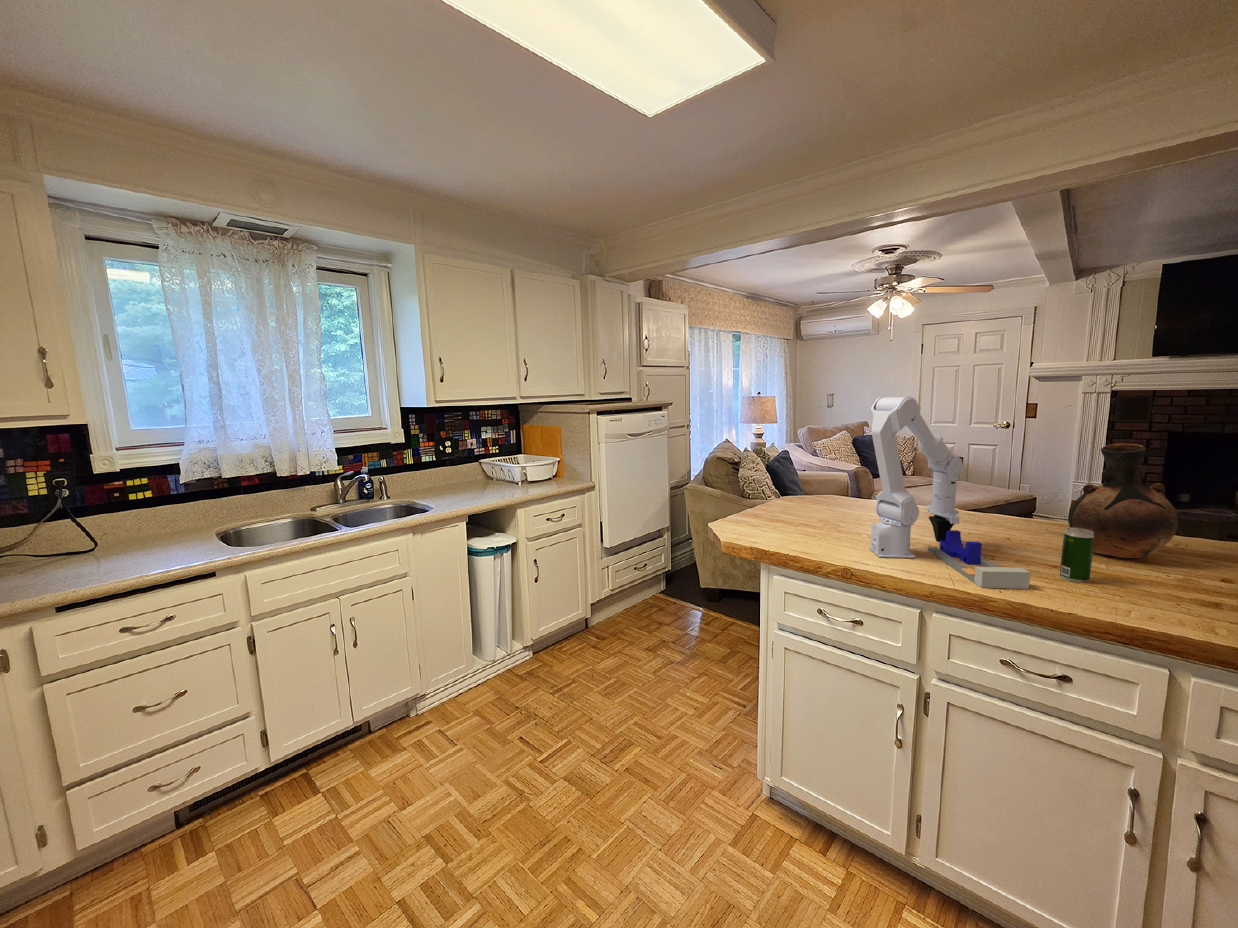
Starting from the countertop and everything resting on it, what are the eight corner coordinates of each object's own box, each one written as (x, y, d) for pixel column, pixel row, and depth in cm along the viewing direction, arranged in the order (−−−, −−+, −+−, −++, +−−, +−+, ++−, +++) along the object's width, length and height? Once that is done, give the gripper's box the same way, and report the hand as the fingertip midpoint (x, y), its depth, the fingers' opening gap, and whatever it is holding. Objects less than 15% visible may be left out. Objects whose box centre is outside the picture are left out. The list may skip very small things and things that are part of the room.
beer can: (1078, 584, 117) (1083, 534, 115) (1053, 576, 122) (1058, 528, 121) (1095, 581, 118) (1101, 532, 117) (1070, 573, 124) (1075, 526, 122)
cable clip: (939, 550, 144) (940, 530, 143) (956, 550, 143) (957, 530, 142) (961, 565, 132) (962, 543, 131) (980, 565, 132) (981, 543, 131)
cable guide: (981, 587, 117) (982, 571, 116) (927, 550, 143) (928, 537, 143) (1028, 588, 116) (1030, 572, 115) (966, 551, 142) (967, 537, 141)
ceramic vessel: (1156, 551, 137) (1171, 442, 133) (1187, 572, 122) (1205, 450, 118) (1056, 541, 148) (1067, 440, 143) (1073, 560, 132) (1086, 447, 128)
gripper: (972, 501, 136) (969, 549, 139) (946, 490, 151) (943, 534, 153) (944, 501, 137) (941, 549, 139) (920, 490, 152) (918, 534, 154)
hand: (940, 541), depth 146 cm, fingers closed
